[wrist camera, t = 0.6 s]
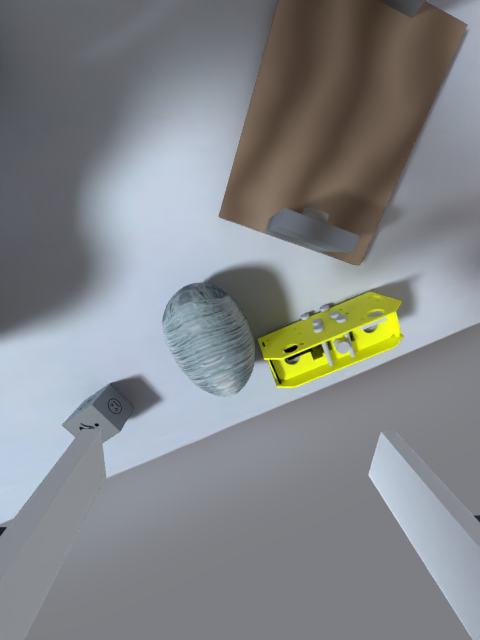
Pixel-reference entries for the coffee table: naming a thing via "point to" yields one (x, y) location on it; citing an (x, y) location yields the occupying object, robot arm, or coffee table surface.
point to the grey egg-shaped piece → (209, 338)
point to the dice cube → (101, 413)
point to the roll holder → (336, 118)
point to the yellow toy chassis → (332, 339)
